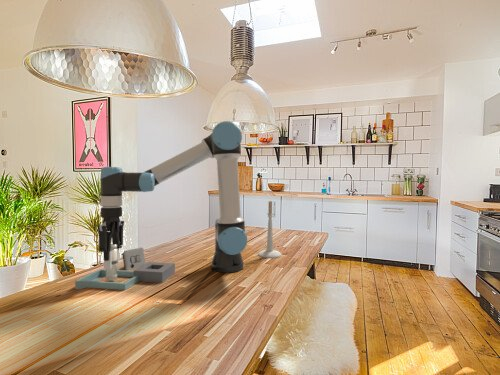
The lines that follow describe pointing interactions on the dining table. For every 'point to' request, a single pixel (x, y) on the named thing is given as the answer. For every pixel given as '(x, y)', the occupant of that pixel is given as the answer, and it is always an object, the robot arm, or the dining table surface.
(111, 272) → the cylinder
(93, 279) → the parts tray
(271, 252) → the candlestick
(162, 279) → the fuse holder
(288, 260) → the dining table surface
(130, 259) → the electrical switch
